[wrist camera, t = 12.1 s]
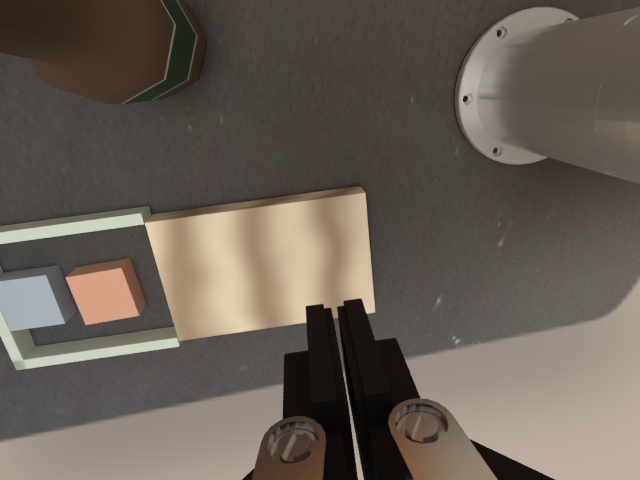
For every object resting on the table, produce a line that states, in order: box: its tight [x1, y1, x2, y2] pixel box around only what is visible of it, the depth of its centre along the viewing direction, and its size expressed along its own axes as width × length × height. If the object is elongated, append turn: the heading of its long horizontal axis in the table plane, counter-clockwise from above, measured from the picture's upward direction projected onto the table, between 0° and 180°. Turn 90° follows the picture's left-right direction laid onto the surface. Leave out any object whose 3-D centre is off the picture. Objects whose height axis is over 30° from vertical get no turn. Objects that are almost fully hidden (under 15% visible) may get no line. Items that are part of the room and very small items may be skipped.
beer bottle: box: [0, 0, 206, 104], centre depth 22 cm, size 8×8×24 cm
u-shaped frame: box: [0, 206, 181, 370], centre depth 39 cm, size 16×14×2 cm
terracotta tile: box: [66, 258, 146, 325], centre depth 39 cm, size 5×5×2 cm
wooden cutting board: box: [145, 186, 375, 341], centre depth 39 cm, size 19×12×2 cm, turn 97°
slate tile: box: [0, 265, 76, 331], centre depth 39 cm, size 5×5×2 cm
